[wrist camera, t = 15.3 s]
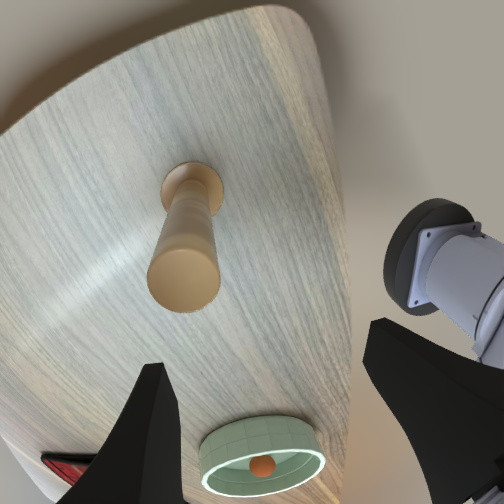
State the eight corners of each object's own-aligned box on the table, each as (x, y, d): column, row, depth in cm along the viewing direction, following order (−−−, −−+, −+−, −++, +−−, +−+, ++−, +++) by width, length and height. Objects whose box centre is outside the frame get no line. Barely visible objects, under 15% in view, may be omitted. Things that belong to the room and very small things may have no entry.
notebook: (123, 469, 24) (191, 515, 33) (125, 453, 26) (191, 503, 35) (33, 459, 24) (111, 511, 32) (36, 447, 26) (112, 501, 34)
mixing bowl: (318, 401, 27) (333, 435, 22) (309, 456, 32) (319, 482, 28) (186, 423, 25) (188, 461, 21) (210, 473, 30) (214, 502, 26)
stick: (220, 158, 16) (252, 199, 6) (225, 217, 18) (261, 331, 8) (158, 166, 16) (95, 221, 6) (166, 225, 17) (132, 346, 7)
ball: (259, 446, 29) (282, 455, 28) (253, 465, 29) (275, 474, 28) (248, 456, 27) (273, 466, 25) (242, 475, 26) (265, 485, 25)
